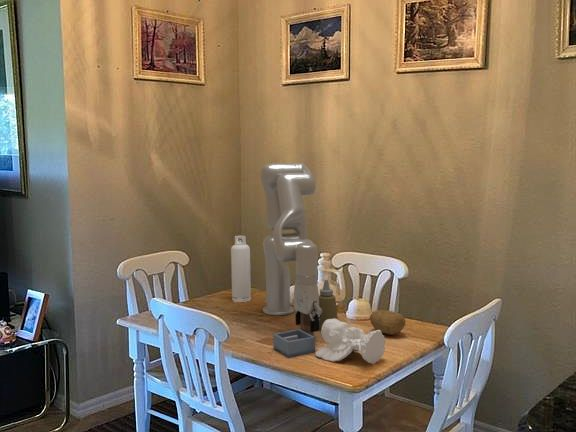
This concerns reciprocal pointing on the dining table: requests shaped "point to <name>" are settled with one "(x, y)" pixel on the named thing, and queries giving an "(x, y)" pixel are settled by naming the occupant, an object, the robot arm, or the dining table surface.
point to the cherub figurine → (350, 342)
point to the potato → (387, 321)
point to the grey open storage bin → (294, 343)
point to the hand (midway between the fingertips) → (307, 327)
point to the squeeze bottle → (327, 304)
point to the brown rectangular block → (306, 323)
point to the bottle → (240, 270)
